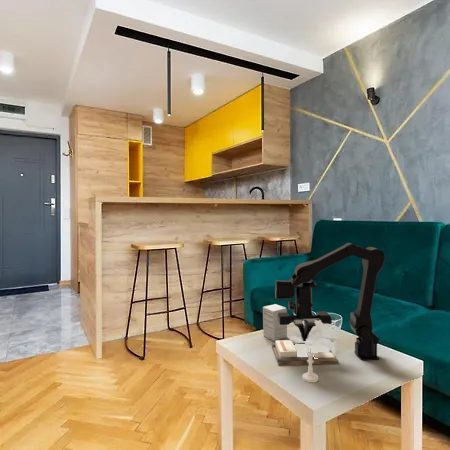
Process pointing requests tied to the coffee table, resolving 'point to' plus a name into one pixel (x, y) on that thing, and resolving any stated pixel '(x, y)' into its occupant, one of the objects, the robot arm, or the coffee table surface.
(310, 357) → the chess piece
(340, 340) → the coffee table surface
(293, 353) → the cream flat box
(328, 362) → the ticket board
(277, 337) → the grey drawer cabinet
